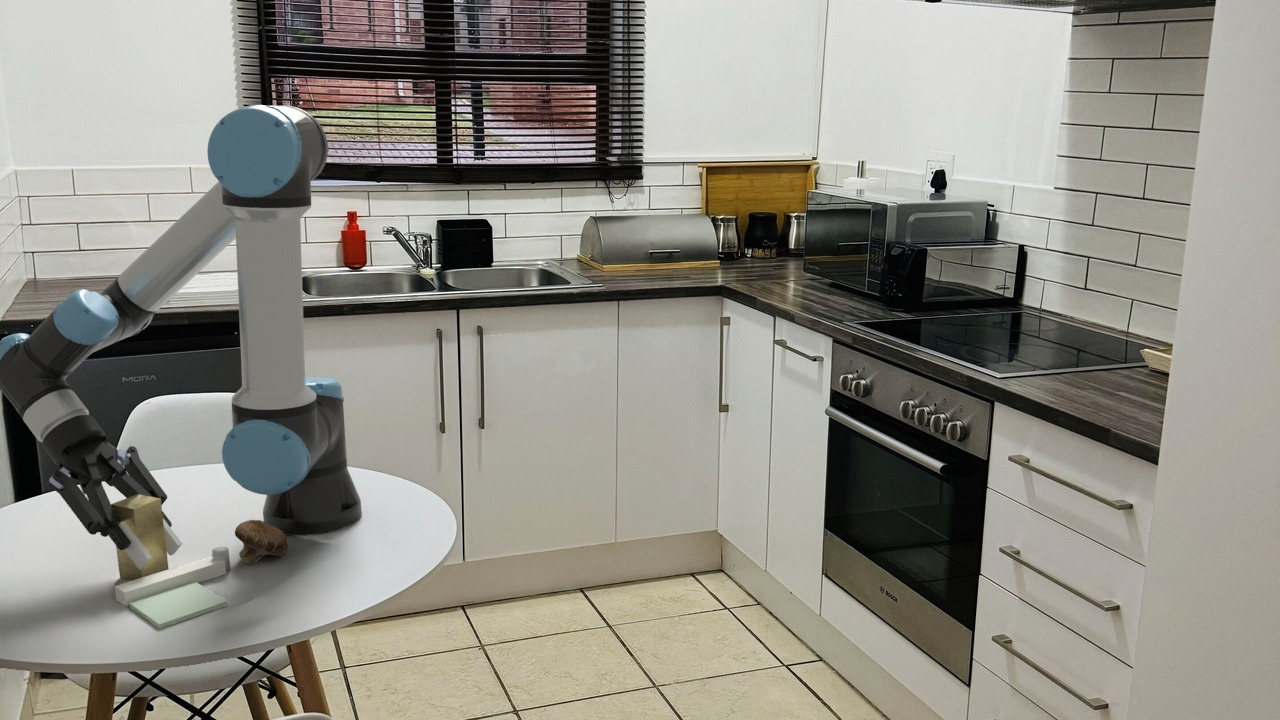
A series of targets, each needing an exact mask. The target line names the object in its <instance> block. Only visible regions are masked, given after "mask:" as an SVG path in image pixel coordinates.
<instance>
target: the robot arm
mask: <svg viewBox="0 0 1280 720" xmlns="http://www.w3.org/2000/svg"><path fill="white" fill-rule="evenodd" d="M206 150H207V160H208V164H209V167H210V170H211V172H212V175H213V176H214V177H215V179H217V181H218V182H216V183H215V184H214V185H213V186H212V187H211V188H210V189H208V191H207V192H206V193H205V194H204V195H203V196H202V197H200V199H199V200H197V201H196V202H195V203H194V204H193V205H192V206H191V207H190V208H189V209H188V210H187V211H186V212H185V213H184V214H183V215H181V216H180V217H179V218H178V220H176V221H175V222H174V223H173V224H172V225H171V226H170V227H169V228H168V229H167V230H166V231H164V233H163V234H162V235H161V236H159V237H158V238H157V239H156V240H155V241H154V242H153V243H152V244H151V245H150V246H149V247H148V248H147V249H146V250H145V251H143V252H142V254H140V255H139V256H138V257H137V258H136V259H135V260H134V261H133V262H132V263H131V264H130V265H129V266H128V267H127V268H125V270H124V271H122V273H120V274H119V275H118V277H117V278H115V279H114V280H113V281H112V282H111V283H110V284H109V285H108V286H107V287H105V289H103V291H101V292H100V293H98V292H96V291H93V290H87V289H85V288H84V289H83V288H81V289H77V290H74V291H73V292H72V293H71V294H70V295H68V296H67V297H66V298H65V299H64V300H62V301H61V300H60V302H59V303H58V304H57V305H56V307H55V308H54V309H53V311H52V312H51V313H50V314H49V315H48V316H47V317H46V318H45V319H44V320H43V321H42V322H41V323H40V324H39V325H38V327H37V328H36V329H35V330H34V331H32V333H30V334H29V333H24V332H23V333H22V332H18V333H12V334H10V335H9V334H8V335H7V336H5V337H2V338H1V340H0V391H1V393H3V395H4V396H5V397H6V399H7V400H8V401H9V402H10V404H12V406H13V407H14V409H15V410H16V412H17V413H18V414H19V417H21V419H22V421H23V422H24V423H25V424H26V426H27V427H28V429H29V430H30V431H31V432H32V435H34V437H35V438H36V439H37V441H38V442H39V443H41V444H42V446H41V447H42V448H43V449H44V450H45V452H46V453H47V454H48V456H49V457H50V459H51V460H52V461H53V463H54V464H55V465H58V466H59V467H58V468H59V469H58V470H55V471H54V473H52V475H51V476H50V478H49V480H48V481H47V483H46V484H47V485H48V487H49V488H51V489H52V490H53V491H55V492H56V493H58V494H59V496H61V498H62V499H63V500H64V502H65V503H66V505H67V506H68V507H69V508H70V510H71V512H73V514H74V515H75V516H76V518H77V519H78V521H79V522H80V524H82V526H83V527H84V528H85V529H86V531H87V532H88V533H89V534H90V535H96V534H97V533H99V534H100V536H101V537H104V538H106V537H109V538H110V540H111V541H112V542H113V544H114V545H115V547H116V546H117V548H118V549H120V550H121V551H122V550H125V551H126V553H127V554H128V555H129V557H130V558H131V559H132V561H133V562H134V563H135V565H136V566H137V567H138V569H139V570H140V569H142V568H144V567H145V566H146V564H147V563H148V562H149V561H150V559H151V558H152V556H151V555H150V554H149V552H148V551H147V550H146V548H145V547H144V546H143V544H142V543H141V542H140V540H139V539H138V538H137V536H136V535H135V534H134V532H133V531H132V530H131V528H130V527H129V526H128V524H127V523H126V522H125V521H123V522H120V523H119V525H118V519H117V517H116V515H115V512H114V510H113V508H112V506H111V504H112V503H111V501H110V500H109V497H108V495H107V492H106V490H105V488H104V485H103V484H102V483H103V482H104V483H106V484H107V485H108V486H109V487H114V488H115V489H116V490H117V491H118V492H119V493H120V494H122V495H123V496H124V497H125V499H126V498H129V497H132V496H134V495H137V494H140V495H145V496H150V497H155V498H160V499H161V506H163V504H164V503H165V502H166V501H167V499H168V495H167V493H166V492H165V491H164V490H163V488H162V487H161V485H160V484H159V483H158V481H157V480H156V478H154V476H153V475H152V473H151V472H150V470H149V469H148V468H147V466H146V465H145V464H144V462H143V461H142V460H141V458H140V455H139V452H138V451H139V450H138V449H137V448H136V446H134V445H130V446H129V447H128V448H127V449H117V448H116V446H114V445H113V444H111V443H110V442H108V439H107V437H106V434H105V432H104V430H103V429H102V428H101V426H100V424H99V423H98V422H97V421H96V420H95V418H94V417H93V416H92V415H90V411H89V409H88V408H87V407H86V406H85V405H84V403H83V402H82V400H81V399H80V398H79V397H78V395H77V394H76V393H75V392H74V390H73V389H72V388H71V386H70V384H69V383H68V382H67V380H66V378H67V377H69V375H71V374H72V373H73V372H74V371H75V370H76V368H78V367H79V366H80V365H81V364H82V363H83V362H84V361H85V360H86V359H87V358H88V357H89V356H90V355H92V353H94V352H97V351H99V350H102V349H103V348H106V347H108V346H110V345H113V344H115V343H118V342H120V341H122V340H125V339H126V338H131V337H133V336H136V335H137V334H139V333H140V332H141V331H143V330H145V329H146V328H147V327H148V326H149V325H150V324H151V322H152V320H153V318H154V315H155V314H156V313H157V312H158V311H159V310H160V309H161V308H162V307H163V306H164V305H165V304H166V303H167V302H168V301H169V300H170V299H171V298H173V297H174V296H175V295H176V294H177V293H178V292H179V291H180V290H182V288H184V286H186V285H187V284H188V283H189V282H190V281H191V280H192V279H193V278H194V277H196V275H198V274H199V273H200V272H202V270H203V269H204V268H205V267H206V266H207V265H209V264H210V262H212V261H213V260H214V259H215V258H216V257H217V256H218V255H219V254H221V252H223V250H225V249H226V248H227V247H229V245H230V244H232V243H233V241H235V246H236V251H235V252H236V269H237V270H236V271H237V272H236V273H237V291H238V293H237V294H238V295H237V296H238V317H239V318H238V319H239V320H238V321H239V340H240V341H239V343H240V359H241V360H240V363H241V387H240V388H239V389H238V390H237V391H236V392H235V393H234V394H233V395H232V397H231V419H232V420H231V421H232V424H231V425H232V428H231V430H230V431H229V432H228V433H227V434H226V436H225V439H224V440H223V444H222V449H221V458H222V463H223V466H224V468H225V470H226V472H227V473H228V475H229V476H230V477H231V479H232V480H233V481H234V482H236V483H237V484H238V485H240V486H241V488H243V489H245V490H246V491H248V492H251V493H254V494H258V495H264V496H266V498H265V500H264V501H265V502H264V506H263V508H262V515H263V517H262V518H263V522H265V523H268V524H270V525H272V526H275V527H277V528H279V529H280V530H281V531H283V532H284V534H285V535H287V536H313V535H320V534H325V533H331V532H334V531H339V530H341V529H344V528H346V527H348V526H351V525H353V524H354V523H356V522H357V521H358V520H359V519H360V518H361V517H362V513H363V510H362V501H361V498H360V495H359V493H358V490H357V488H356V486H355V483H354V482H353V478H352V476H351V473H350V471H349V469H348V461H347V460H348V459H347V455H348V454H347V444H346V443H347V442H346V427H345V412H344V402H345V399H344V396H343V391H342V390H343V389H342V385H341V383H340V382H339V381H338V380H336V379H333V378H329V377H316V376H315V377H313V376H312V377H306V368H305V367H306V364H305V337H304V336H305V335H304V333H305V331H304V330H305V329H304V300H303V295H304V294H303V265H302V263H303V261H302V235H301V234H302V233H301V231H302V229H301V219H302V217H303V216H304V215H305V214H306V213H307V212H308V211H309V210H310V209H311V208H312V184H311V183H312V181H314V180H315V178H317V177H318V176H319V175H320V173H322V171H323V170H324V167H325V165H326V163H327V160H328V155H329V143H328V137H327V134H326V133H325V130H324V128H323V127H322V125H321V124H320V122H319V121H318V120H317V119H316V118H315V117H314V116H313V115H312V114H310V112H307V111H306V110H304V109H303V108H299V107H296V106H294V105H293V106H292V105H288V104H287V105H284V104H282V105H280V104H279V105H263V104H255V105H247V106H244V107H243V106H242V107H241V108H238V109H235V110H232V111H230V112H229V113H227V114H225V115H224V116H223V117H222V118H221V119H219V121H218V122H217V123H216V124H215V126H214V127H213V129H212V131H211V133H210V135H209V138H208V143H207V149H206ZM74 480H75V481H74ZM76 482H78V484H77V483H76ZM79 486H80V487H79ZM162 515H163V524H164V534H165V543H166V551H167V555H168V556H170V557H171V556H173V555H175V554H176V552H177V551H179V549H180V548H181V546H182V545H183V543H182V541H181V539H179V537H178V536H177V534H176V533H175V531H173V529H172V528H171V527H172V526H173V524H172V522H171V520H170V519H169V518H168V516H167V514H165V512H164V511H163V510H162Z"/></svg>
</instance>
